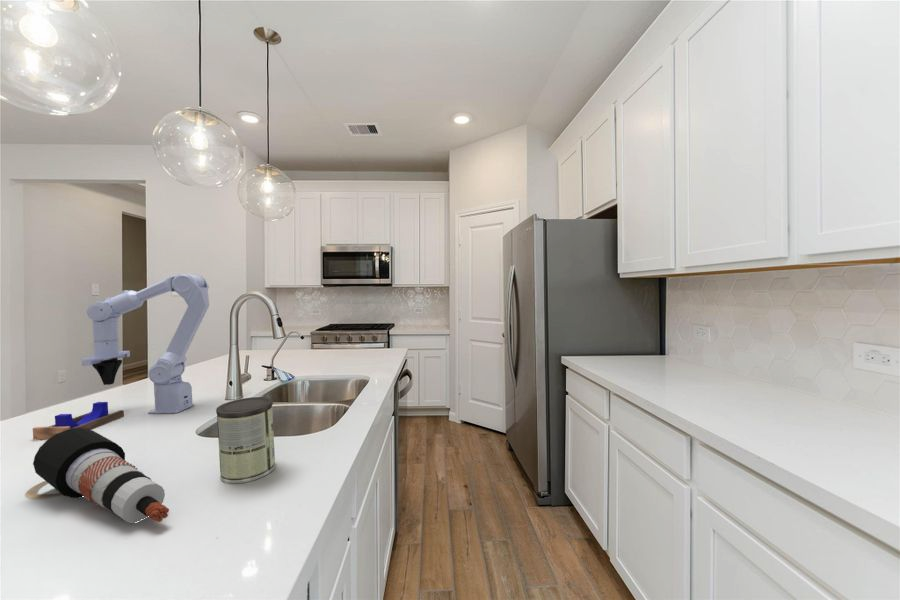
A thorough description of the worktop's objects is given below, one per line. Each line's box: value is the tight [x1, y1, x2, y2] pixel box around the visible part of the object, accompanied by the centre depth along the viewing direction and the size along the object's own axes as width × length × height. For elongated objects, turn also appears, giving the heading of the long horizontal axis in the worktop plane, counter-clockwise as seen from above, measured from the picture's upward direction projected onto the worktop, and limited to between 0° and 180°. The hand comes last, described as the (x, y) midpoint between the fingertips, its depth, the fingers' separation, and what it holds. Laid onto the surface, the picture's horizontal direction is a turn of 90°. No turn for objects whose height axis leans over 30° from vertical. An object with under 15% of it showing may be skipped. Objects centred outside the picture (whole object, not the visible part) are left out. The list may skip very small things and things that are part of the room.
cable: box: [32, 428, 170, 524], centre depth 69 cm, size 10×34×10 cm, turn 62°
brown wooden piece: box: [32, 409, 125, 441], centre depth 109 cm, size 9×17×3 cm, turn 178°
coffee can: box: [215, 396, 277, 485], centre depth 79 cm, size 10×10×14 cm
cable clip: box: [54, 401, 109, 429], centre depth 107 cm, size 12×4×6 cm, turn 179°
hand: (108, 384), depth 119 cm, fingers closed
